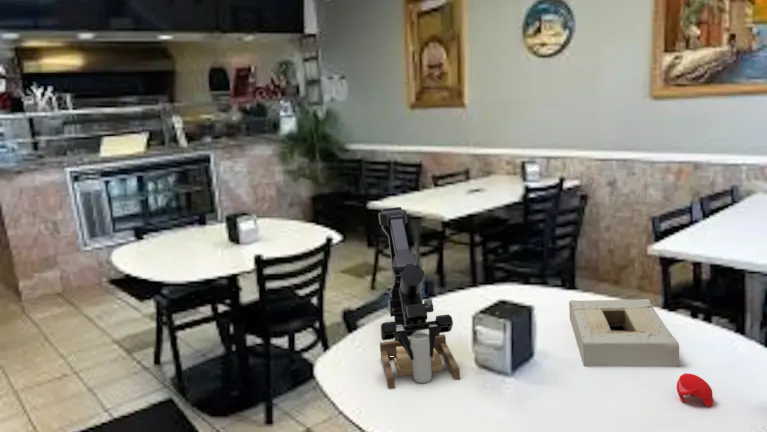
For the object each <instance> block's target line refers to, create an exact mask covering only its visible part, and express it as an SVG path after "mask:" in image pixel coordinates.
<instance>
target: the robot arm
mask: <svg viewBox="0 0 767 432" xmlns="http://www.w3.org/2000/svg"><path fill="white" fill-rule="evenodd" d="M407 214H408V213H407V210H406V209H402V207H401V206H397V207H396V206H395V207H388V208H387V207H386V208H381V212H378V221H379V225H380V226H381V229H382V232H384V234H385V235H386V237H387V238H388V246H389V247H388V248H389V253H390V254H389V255H390V264H391V276H392V280H393V284H392V286H391V289H390V290H389V296H390V297H388V301H387V303H388V313H389V315H390V317H394V321H386V322H381V324H380V337H381V340H382V341H388V340H389V341H391V340H394V341H396V342H397V341H398V342H399V343H400V344H401V345H402V346H403V348H404V349H405V350H406V352H407V354H408V355H409V357H410V359H411V360H413V355H412V351H411V347H410V344H409V340H408V339H409V337H411V336H412V335H413V334H415V332H416V331H425V330H428V333H427V335H428V337H429V343H430V356H431V358H432V357H433V350H434V341H435V337H436V336H439V335H441V334H444V333H449V332H451V331H452V329H453V324H454V321H453V317H452V316H451V315H450V314H441V315H436V316H435V320H431V321H427V320H428V313H434V310H435V309H434V304H433V300H432V299H425V300H424V301H423V298H422V293H421V291H422V287H423V282H424V281H423V280H424V276H425V271H424V269H423V268H422V267H421V265H420V263H418V262H417V258H416V256H415V255H414V254H413V252H411V251H410V246H409V241H408V236H407V232H406V228H405V227H406V224H407V223H408V215H407ZM408 336H409V337H408Z"/></svg>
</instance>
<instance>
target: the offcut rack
mask: <svg viewBox="0 0 767 432" xmlns="http://www.w3.org/2000/svg"><path fill="white" fill-rule="evenodd" d="M408 340H409V344H410V346H411V341H410V340H411V338H408ZM400 346H402V345H401V344H400V343H399V342H398V341H397V342H396V341H395V340H389V341H388V340H387V341H383V342H379V349H380V359H381V364H382V368H383V372H384V375H385V380H386V384H387V388H388V389H395V388H396V387H395V386H396V384H395V377H394V373H393V369H392V366H391V363H390V361H394V358H396V354H397V351H396V347H400ZM434 348H435V350H436V351H437V353H438V354H439V355H441V356H442V359H443V360H444V362H445V364H446V366H447V369H448V370H449V372H450V375H451V376H452V379H453V380H454V381H455V380H460V379H461V372H460V367H459V365H458V363H457V361H456V359H455V357H454V355H453V353H452V352H451V350H450V348H449V346H448V344H447V341H446V334H444V333H441V334H439V336H436V337H435V341H434ZM390 356H394V357H390Z"/></svg>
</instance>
